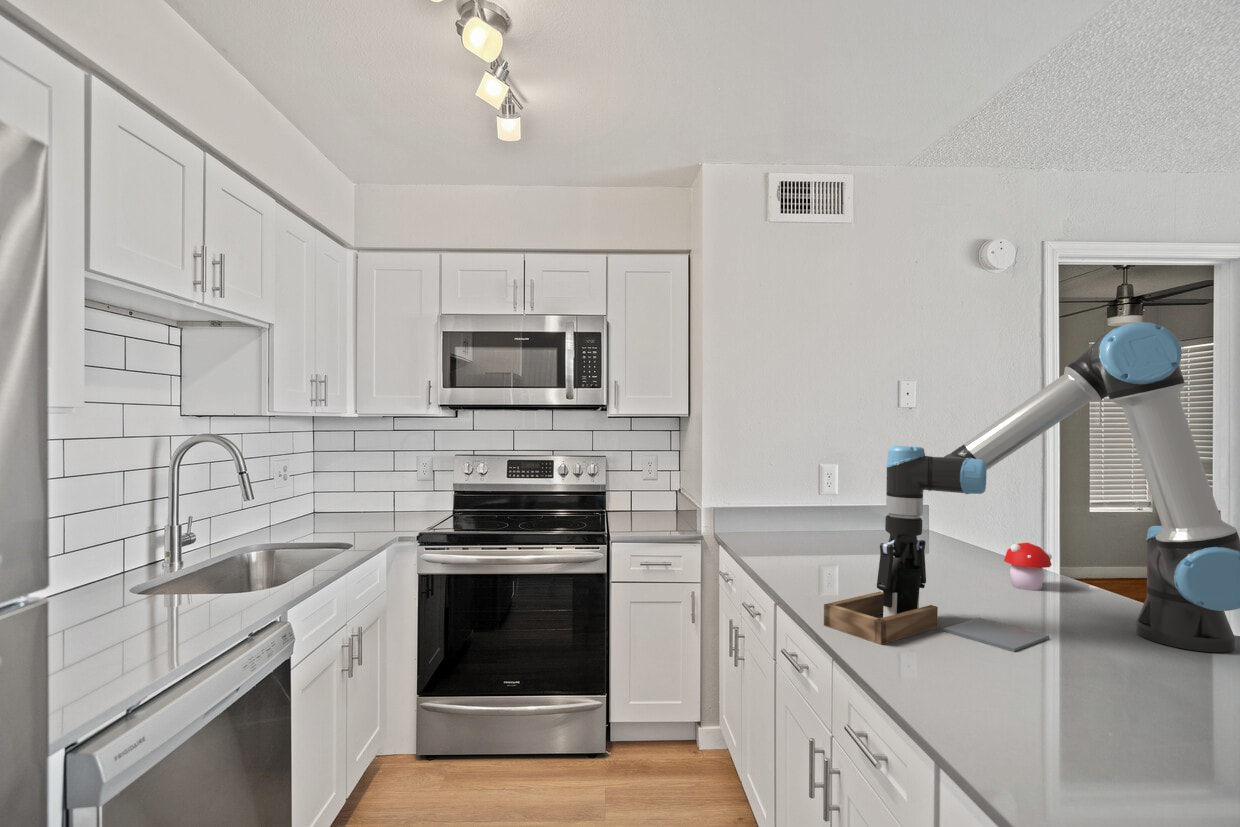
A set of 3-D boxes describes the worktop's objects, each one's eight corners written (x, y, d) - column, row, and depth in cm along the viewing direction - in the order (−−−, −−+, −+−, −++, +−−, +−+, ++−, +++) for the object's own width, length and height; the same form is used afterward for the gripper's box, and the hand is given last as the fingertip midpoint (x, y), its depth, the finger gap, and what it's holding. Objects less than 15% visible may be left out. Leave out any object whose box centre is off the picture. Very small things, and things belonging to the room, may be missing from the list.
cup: (924, 627, 138) (926, 570, 138) (887, 623, 139) (888, 568, 139) (915, 616, 145) (916, 563, 146) (879, 613, 147) (881, 561, 147)
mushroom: (1037, 582, 176) (1037, 539, 176) (1061, 593, 165) (1061, 547, 165) (996, 581, 177) (996, 538, 177) (1017, 592, 166) (1017, 546, 167)
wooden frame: (937, 627, 138) (937, 606, 138) (881, 644, 127) (881, 621, 127) (879, 610, 149) (879, 591, 149) (823, 625, 139) (823, 604, 139)
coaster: (1048, 638, 131) (1048, 635, 131) (1014, 651, 124) (1014, 648, 124) (979, 620, 143) (979, 617, 143) (943, 631, 135) (943, 628, 135)
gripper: (914, 511, 152) (912, 608, 151) (860, 515, 140) (857, 620, 140) (945, 515, 145) (943, 616, 145) (891, 520, 134) (888, 630, 134)
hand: (900, 618), depth 143 cm, fingers closed on cup, 8 cm apart
